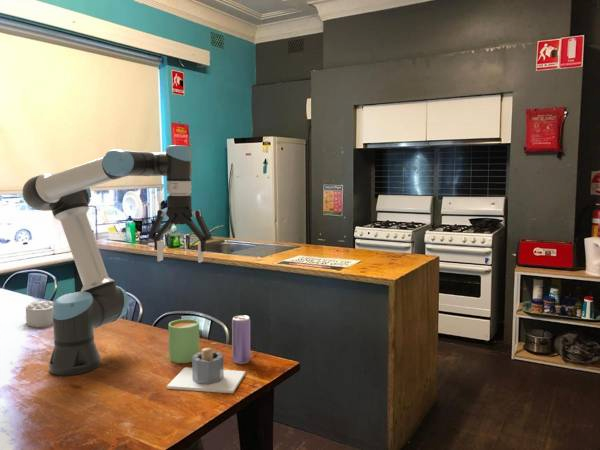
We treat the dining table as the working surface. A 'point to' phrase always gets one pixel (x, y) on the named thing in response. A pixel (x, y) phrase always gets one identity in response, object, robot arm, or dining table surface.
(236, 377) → the base board
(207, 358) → the post
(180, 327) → the mug
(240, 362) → the beverage can
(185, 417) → the dining table surface
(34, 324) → the lumpy-topped squat cylinder
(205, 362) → the ring
